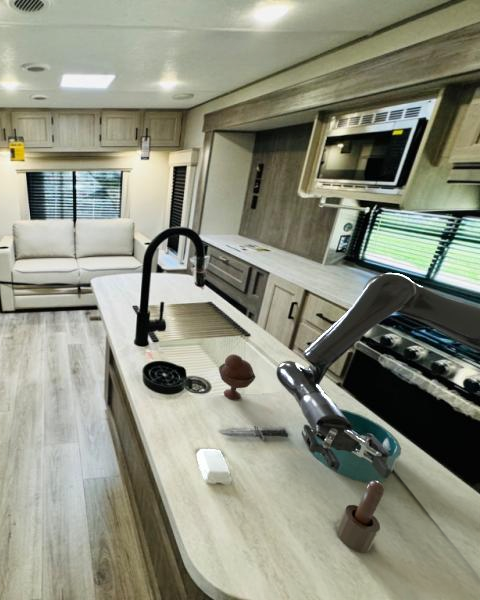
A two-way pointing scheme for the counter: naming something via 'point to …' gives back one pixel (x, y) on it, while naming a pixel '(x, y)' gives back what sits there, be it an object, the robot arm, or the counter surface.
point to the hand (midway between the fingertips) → (361, 471)
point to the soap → (213, 466)
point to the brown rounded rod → (369, 502)
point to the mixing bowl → (359, 465)
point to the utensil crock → (357, 531)
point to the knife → (257, 433)
